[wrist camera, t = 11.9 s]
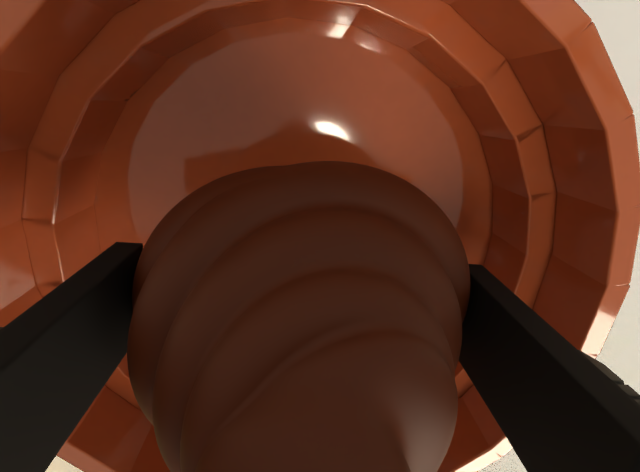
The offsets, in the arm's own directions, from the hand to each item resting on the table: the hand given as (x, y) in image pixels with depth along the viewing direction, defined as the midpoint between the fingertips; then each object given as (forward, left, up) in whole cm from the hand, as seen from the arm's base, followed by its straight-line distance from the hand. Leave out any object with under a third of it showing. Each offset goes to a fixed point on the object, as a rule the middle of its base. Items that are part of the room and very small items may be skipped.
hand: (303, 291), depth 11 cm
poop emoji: (0, 0, -1) cm, 1 cm away
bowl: (0, 0, -5) cm, 5 cm away
